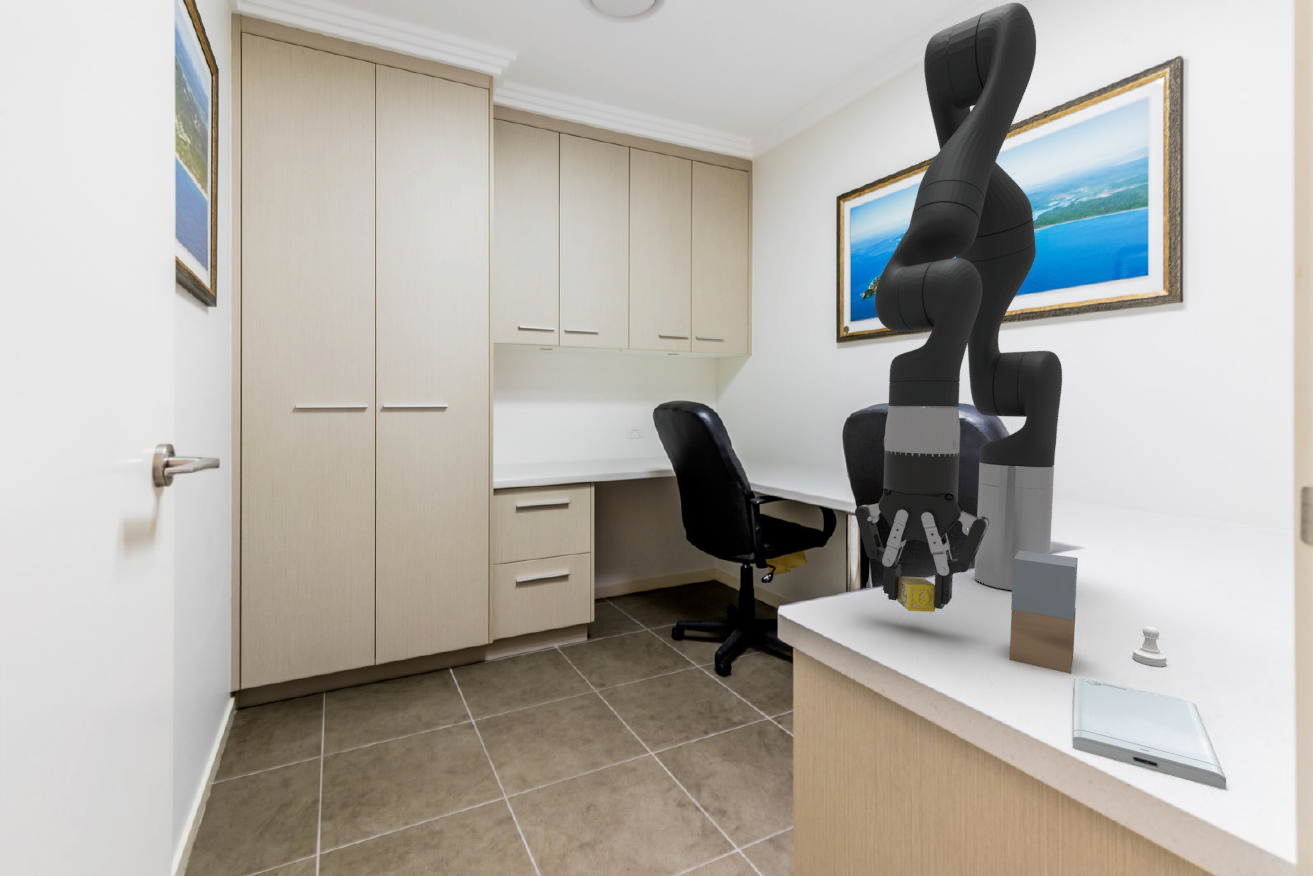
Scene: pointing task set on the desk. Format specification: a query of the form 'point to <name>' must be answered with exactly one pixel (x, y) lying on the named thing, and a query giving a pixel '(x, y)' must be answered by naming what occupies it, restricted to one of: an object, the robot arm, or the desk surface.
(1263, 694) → the desk surface
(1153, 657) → the chess pawn
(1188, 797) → the desk surface
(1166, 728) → the hard drive
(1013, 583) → the tower top
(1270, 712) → the desk surface
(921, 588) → the alphabet block
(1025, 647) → the block
